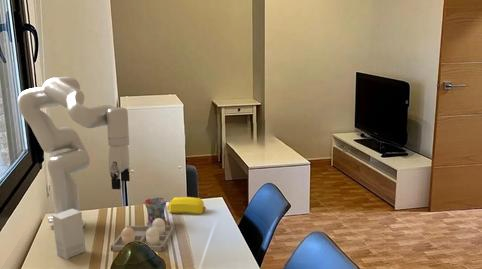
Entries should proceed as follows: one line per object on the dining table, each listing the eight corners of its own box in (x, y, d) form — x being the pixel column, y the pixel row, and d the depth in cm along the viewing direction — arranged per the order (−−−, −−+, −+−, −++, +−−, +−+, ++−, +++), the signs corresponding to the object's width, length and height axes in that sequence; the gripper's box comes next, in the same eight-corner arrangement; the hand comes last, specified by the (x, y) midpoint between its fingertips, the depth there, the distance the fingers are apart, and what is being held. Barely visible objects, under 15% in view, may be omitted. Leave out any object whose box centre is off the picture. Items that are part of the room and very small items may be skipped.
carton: (111, 252, 168) (110, 246, 168) (127, 230, 187) (127, 225, 187) (163, 252, 167) (163, 246, 167) (174, 230, 186) (174, 225, 186)
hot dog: (204, 216, 202) (208, 209, 209) (203, 201, 201) (207, 195, 208) (164, 214, 205) (170, 208, 212) (163, 200, 204) (169, 194, 211)
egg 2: (151, 237, 179) (150, 220, 178) (154, 232, 184) (153, 216, 183) (163, 237, 179) (162, 220, 178) (166, 232, 184) (165, 216, 182)
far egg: (145, 247, 170) (143, 230, 169) (148, 242, 175) (147, 225, 173) (157, 247, 170) (156, 230, 168) (161, 242, 174) (159, 225, 173)
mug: (164, 230, 187) (162, 205, 185) (142, 229, 189) (140, 204, 187) (172, 219, 199) (171, 195, 197) (152, 218, 200) (150, 195, 198)
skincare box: (77, 247, 174) (72, 207, 171) (86, 251, 169) (82, 211, 166) (56, 255, 167) (51, 214, 164) (65, 260, 163) (61, 218, 160)
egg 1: (120, 247, 171) (119, 230, 170) (124, 242, 176) (123, 225, 174) (133, 247, 170) (131, 230, 169) (137, 242, 175) (135, 225, 174)
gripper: (117, 135, 180) (119, 177, 184) (99, 146, 164) (102, 192, 167) (136, 136, 180) (137, 178, 183) (120, 146, 163) (122, 192, 166)
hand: (121, 184), depth 175 cm, fingers open, 9 cm apart
